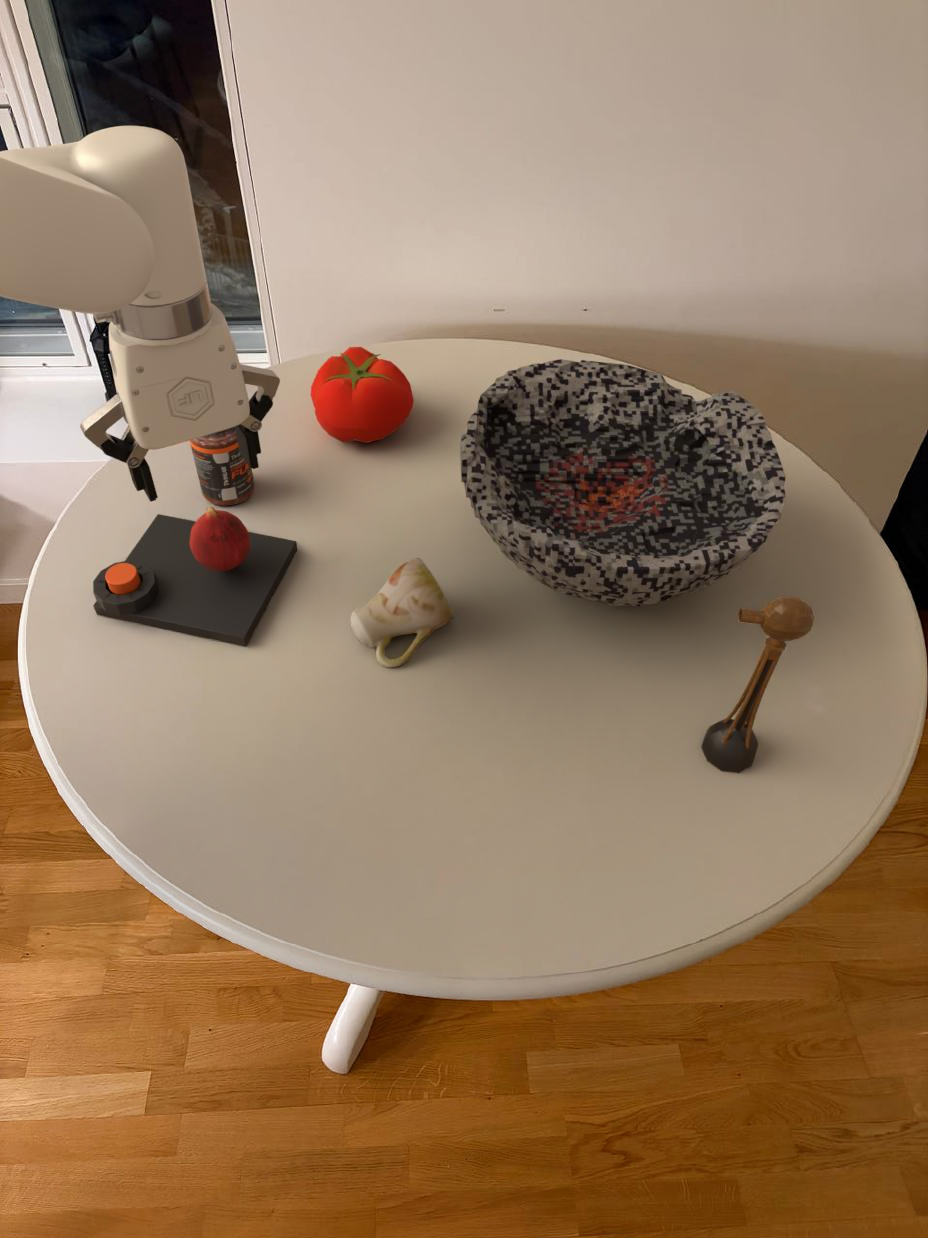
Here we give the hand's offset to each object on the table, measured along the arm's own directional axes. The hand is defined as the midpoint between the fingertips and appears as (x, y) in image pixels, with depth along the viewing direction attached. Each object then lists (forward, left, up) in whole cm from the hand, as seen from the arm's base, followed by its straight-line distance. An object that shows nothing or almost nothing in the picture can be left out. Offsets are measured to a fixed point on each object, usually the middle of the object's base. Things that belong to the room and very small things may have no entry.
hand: (200, 476), depth 84 cm
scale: (-2, -1, -14) cm, 14 cm away
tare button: (-8, -6, -11) cm, 15 cm away
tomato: (+6, +29, -14) cm, 33 cm away
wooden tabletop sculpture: (+52, -8, -14) cm, 54 cm away
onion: (0, 0, -13) cm, 13 cm away
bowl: (+38, +14, -14) cm, 43 cm away
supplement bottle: (-5, +13, -14) cm, 20 cm away
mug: (+20, -2, -14) cm, 24 cm away
